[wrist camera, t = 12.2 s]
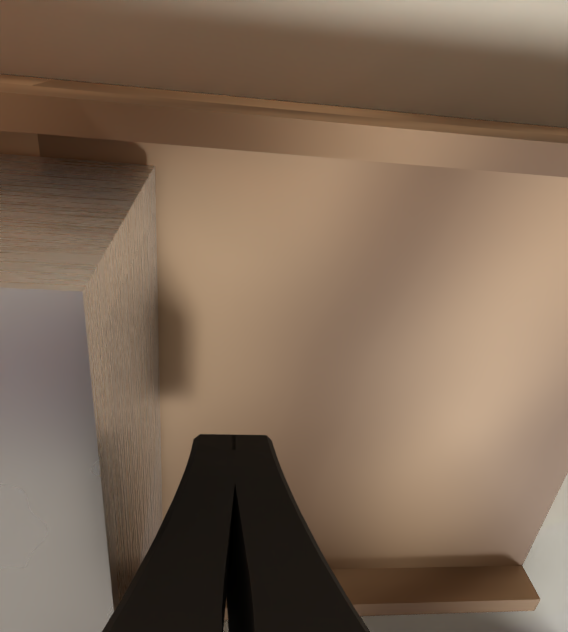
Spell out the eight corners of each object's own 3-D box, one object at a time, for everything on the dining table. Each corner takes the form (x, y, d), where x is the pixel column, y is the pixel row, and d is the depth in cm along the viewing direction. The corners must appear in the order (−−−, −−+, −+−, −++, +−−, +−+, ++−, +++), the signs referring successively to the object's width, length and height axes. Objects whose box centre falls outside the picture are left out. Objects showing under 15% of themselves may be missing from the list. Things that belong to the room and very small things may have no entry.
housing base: (674, 138, 10) (807, 170, 8) (498, 541, 16) (543, 629, 14) (-437, 32, 8) (-723, 32, 6) (-180, 549, 14) (-266, 657, 11)
